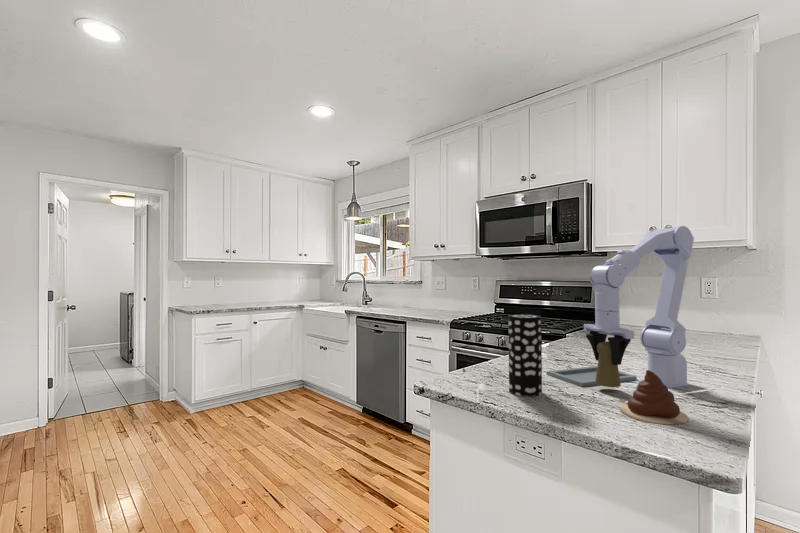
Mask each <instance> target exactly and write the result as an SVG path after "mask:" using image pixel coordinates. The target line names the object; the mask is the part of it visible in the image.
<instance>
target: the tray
mask: <svg viewBox="0 0 800 533" xmlns="http://www.w3.org/2000/svg"><path fill="white" fill-rule="evenodd" d="M596 372H597V365H593V366H584V367H576V368H575V367H574V368H566V369H558V370H557V369H556V370H546V376H548V377H552V378H555V379H558V380H561V381H563V382H567V383H569V384H572V385H575V386H577V387H581V388H582V387H583V388H584V387H591V386H592V387H593V386H598V385H597V384H595V379H596ZM619 377H620V383H622V382H624V383H625V382H630V381H637V377H638V376H637V375H633V374H630V373H627V372H623V371H619Z"/></svg>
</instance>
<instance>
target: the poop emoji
mask: <svg viewBox="0 0 800 533" xmlns="http://www.w3.org/2000/svg"><path fill="white" fill-rule="evenodd" d="M643 378H644V379H642V380H643V381H640V382H639V383H638V384H637V386H636V388H635V390H634V391H633V394H632V396H631V397H629V399H628V400H627V403H626V404H627V405H628V408H629V409H630V410H631V411H632V412H634V413H636V414H639V415H645V416H653V415H658V416H661V417H665V418H674V417H677V416H678V415H679V413H680V412H681V409H680V406H679V404H677V403H676V402H675V395H674V393H673V392H672V391H671V390H669V388H667V386H666V385H664V384H663V382H662V380H661V379H660V378H659V377H658V376H657V375H656V374H655V373H653V372H651V371H649V370H648V369H646V372H645V375H644V377H643Z"/></svg>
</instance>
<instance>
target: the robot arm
mask: <svg viewBox="0 0 800 533" xmlns="http://www.w3.org/2000/svg"><path fill="white" fill-rule="evenodd" d="M694 241H695V238H694V236H693V234H692V231H691V230H690V229H689V227H687V226H685V225H681V226H680V225H679V226H677V227H675V226H674V227H666V228H652V229H651V230H649V231H647V232H645V234H644V237H643V238H642V239H641V240H640V241H639V242H638V243H637V244H635V245H634V246H632V248H631V249H619V250H617V252H616V255H615V256H613V257H612V258H610V259H607V260H606V261H605V263H604V264H603V265H596V266H594V267H593V269H592V270H591V272H590V275H589V276H588V277H589V281H590V284H591V285H592V291H593V292H594V307H595V308H594V316H595V317H594V319H595V320H594V321H595V323H594V324H591V323H584V324H583V332H589V333H586V334H585V338H586V339H587V340H588V342H589V344H590V346H591V348H592V352H593V355H594V359H595V361H597V362H598V358H599V353H598V352H597V344H598V343H600V342H609V343H610V347H611V352H612V363H613V365H618V366H619V365H622V361H623V357H624V354H625V351H626V349H627V347H628V346H629V344H630V342H631V341H632V339H635V330H631V329H628V328H624V327H621V326H620V325H621V324H620V322H621V321H620V320H621V319H620V316H621V315H620V286H623V284H624V282H625V279H626V277H627V276H628V275H629V274H630V273H632V272H633V271H634V270H635V269H637V268H638V267H639V266H640V260H642V259H643V258H645V257H646V256H648V255H649V254H651V253H652V252H653V254H655V255H656V256H657V258H658V259H660V260H661V261H663V262H664V268H663V274H662V279H661V284H660V288H659V295H658V299H657V303H656V307H655V313H654V316H653V317H651V318H649V319H648V320H646V321H645V324H644V328H643V329H642V331H641V332H640V335H639V336H640V338H639V339H640V344H641V345H642V346H643V348H644V351H646V352H647V370H649V371H651V372H653V373H655V374H656V375H657V376H658V377H659V378H660V379H661V380H662V382H663V384H664V385H666V386H667V388H668V389H671V388H677V387H684V386H690V385H691V384H690V383H688V365H687V364H688V362H687V360H686V359H687V358H686V357H685V356H684V355H683V354H682V352H683V351H684V350H685V348H686V346H687V345H686V344H687V340H686V331H687V329H686V327H685V326H684V325H683V324H681V322H679V320H678V317H679V313H680V306H681V302H682V297H683V292H684V287H685V282H686V276H687V271H688V266H689V261H690V260H689V259H690V258H691V256H692V251H693V245H694ZM608 335H609V337H608ZM610 336H611V337H610ZM606 340H608V341H606ZM643 380H644V379H641V380H640V382H641V381H643Z"/></svg>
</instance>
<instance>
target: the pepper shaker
mask: <svg viewBox="0 0 800 533" xmlns="http://www.w3.org/2000/svg"><path fill="white" fill-rule="evenodd" d="M597 352H598V353H599V358H598V361H597V365H596V366H597V372H596V379H595V384H597V385H596V386H601V387H605V388H621V386H622V385H621V382H620V377H619V372H620V370H619V365H613V363H612V352H611V347H610V343H609V341H605V342H600V343H598V344H597Z"/></svg>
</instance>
